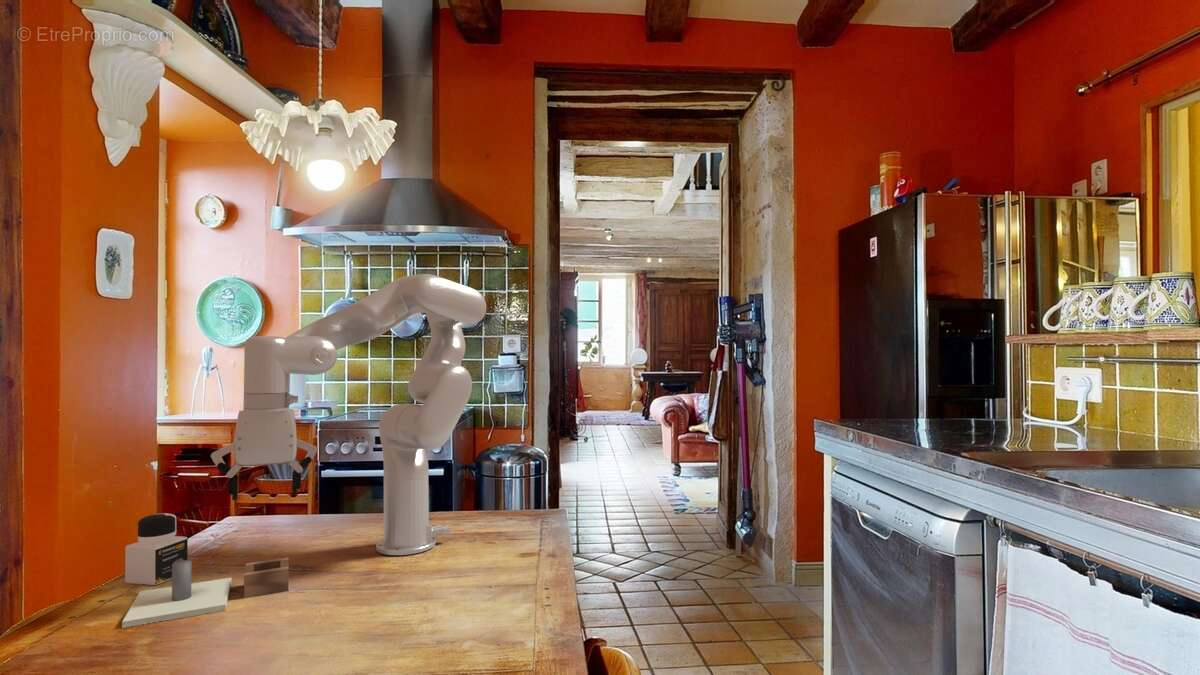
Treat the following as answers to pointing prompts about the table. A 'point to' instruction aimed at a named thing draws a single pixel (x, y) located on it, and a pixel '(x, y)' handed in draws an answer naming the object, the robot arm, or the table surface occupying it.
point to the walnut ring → (266, 577)
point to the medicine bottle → (154, 550)
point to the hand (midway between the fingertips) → (265, 495)
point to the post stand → (179, 598)
